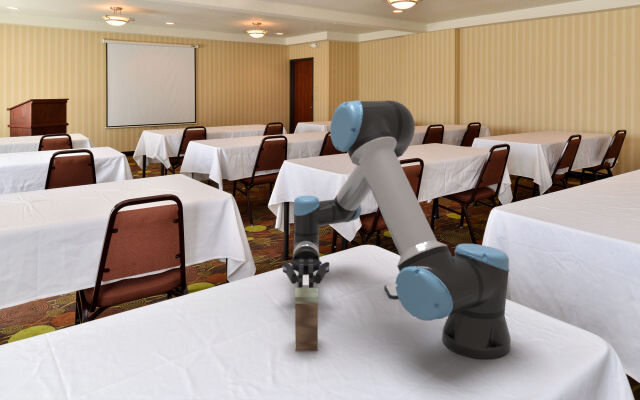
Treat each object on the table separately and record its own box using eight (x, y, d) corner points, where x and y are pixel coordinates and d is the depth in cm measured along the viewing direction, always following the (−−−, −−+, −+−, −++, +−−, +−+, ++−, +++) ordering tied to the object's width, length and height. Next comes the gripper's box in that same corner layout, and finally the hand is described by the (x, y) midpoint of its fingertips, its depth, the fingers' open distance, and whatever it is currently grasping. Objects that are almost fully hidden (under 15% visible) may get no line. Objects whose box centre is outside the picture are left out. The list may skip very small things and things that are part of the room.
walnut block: (317, 339, 117) (317, 288, 114) (317, 350, 112) (318, 296, 109) (295, 340, 117) (295, 288, 114) (295, 351, 112) (294, 297, 109)
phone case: (389, 301, 140) (445, 299, 141) (389, 296, 140) (445, 293, 141) (383, 289, 149) (435, 287, 150) (383, 284, 149) (435, 282, 150)
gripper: (329, 270, 142) (332, 304, 119) (283, 270, 142) (278, 305, 119) (329, 245, 141) (333, 275, 118) (283, 245, 140) (278, 275, 117)
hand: (305, 290), depth 118 cm, fingers closed
